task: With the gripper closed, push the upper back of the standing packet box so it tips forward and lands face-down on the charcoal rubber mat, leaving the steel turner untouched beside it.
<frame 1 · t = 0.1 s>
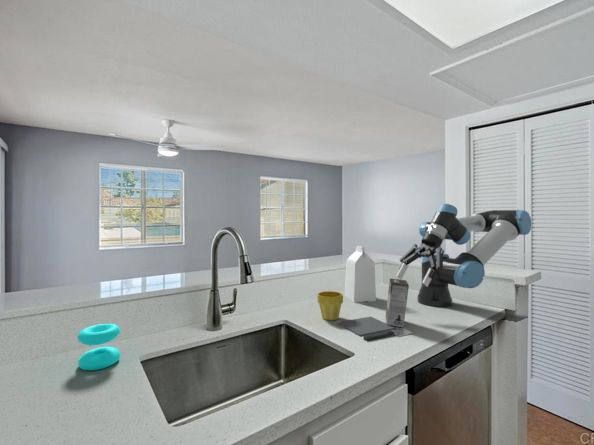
hand: (411, 281, 126), 15 cm above the worktop, tool tilted 35°, fingers open, 13 cm apart
coffee box: (394, 322, 122), on the worktop, touching mat
milk: (359, 298, 158), on the worktop
donuts: (99, 364, 88), on the worktop
mat: (365, 326, 118), on the worktop
plant pot: (330, 318, 128), on the worktop
turner: (389, 335, 110), on the worktop
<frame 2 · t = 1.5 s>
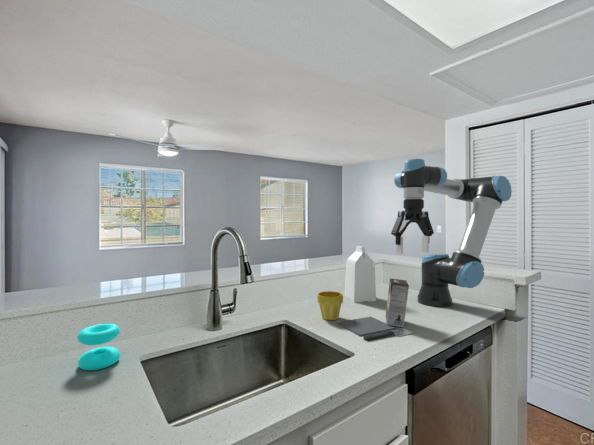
hand: (412, 252, 125), 27 cm above the worktop, tool pointing down, fingers open, 13 cm apart
nothing on the worktop moved.
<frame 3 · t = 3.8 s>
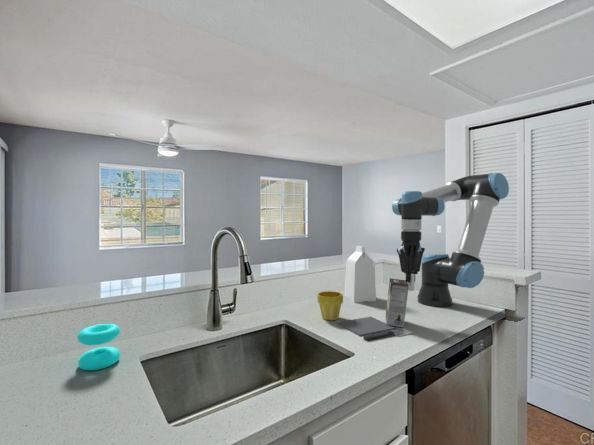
hand: (410, 290, 125), 12 cm above the worktop, tool pointing down, fingers closed
coffee box: (394, 322, 122), on the worktop, touching gripper, mat
everything else where it was.
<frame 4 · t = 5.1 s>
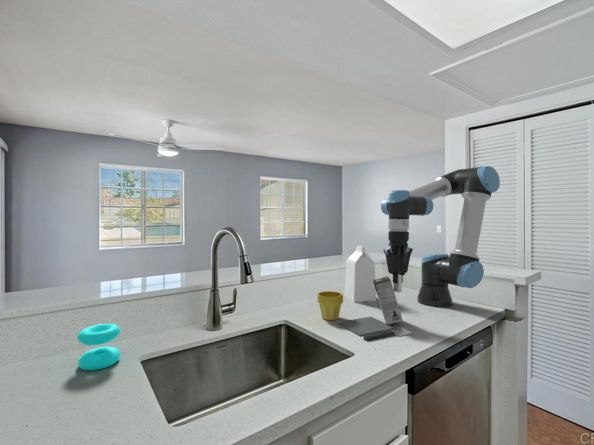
hand: (397, 291, 122), 12 cm above the worktop, tool pointing down, fingers closed
coffee box: (393, 320, 122), point 1 cm above the worktop, touching mat
everything else where it was.
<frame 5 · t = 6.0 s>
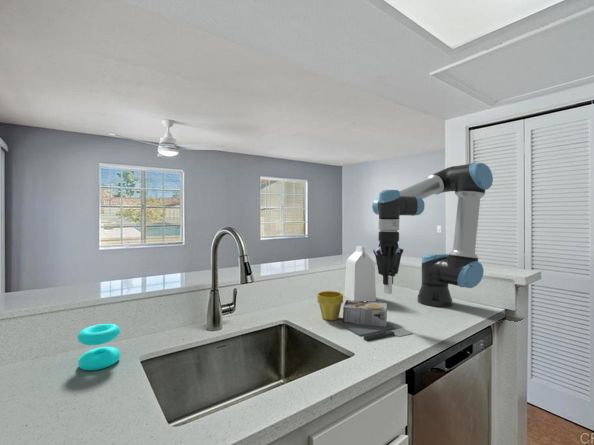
hand: (387, 292, 120), 12 cm above the worktop, tool pointing down, fingers closed
coffee box: (387, 314, 120), point 4 cm above the worktop, touching mat
everything else where it was.
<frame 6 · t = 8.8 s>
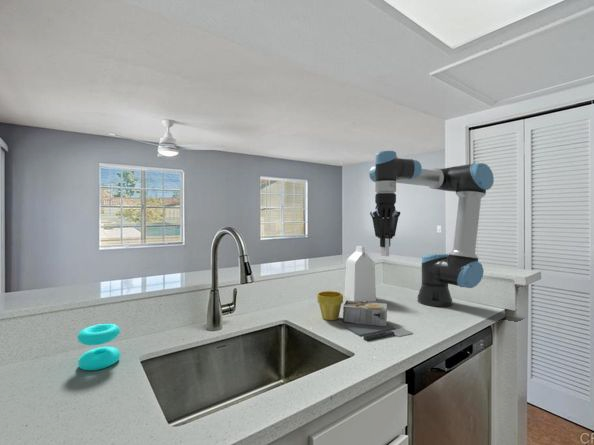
hand: (385, 255, 119), 26 cm above the worktop, tool pointing down, fingers closed
nothing on the worktop moved.
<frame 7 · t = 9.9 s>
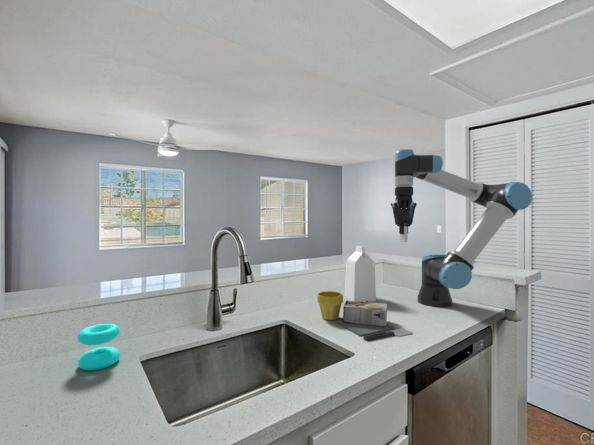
hand: (403, 241, 136), 30 cm above the worktop, tool pointing down, fingers closed
nothing on the worktop moved.
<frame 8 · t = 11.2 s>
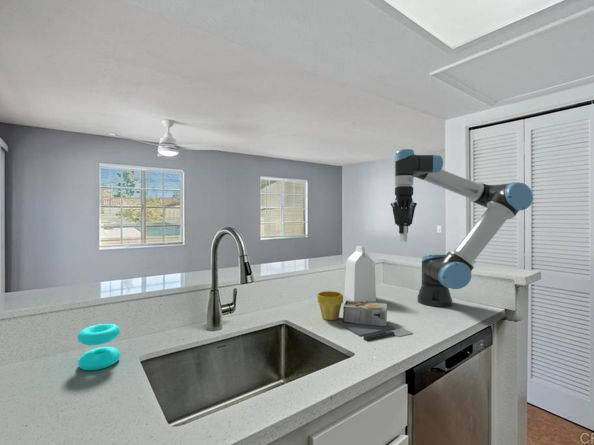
hand: (403, 241, 136), 30 cm above the worktop, tool pointing down, fingers closed
nothing on the worktop moved.
at the end: coffee box tilted 90°; coffee box inside the target area (7.6 cm from its centre), point 3.7 cm above the worktop; the gripper is holding nothing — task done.
